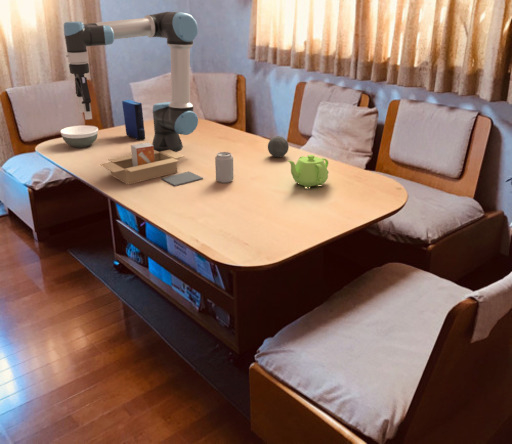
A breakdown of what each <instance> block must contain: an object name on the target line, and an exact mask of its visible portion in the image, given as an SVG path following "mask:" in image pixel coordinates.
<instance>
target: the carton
mask: <svg viewBox="0 0 512 444" xmlns="http://www.w3.org/2000/svg"><path fill="white" fill-rule="evenodd" d="M185 157H186V156H185V155H183V154H181V153H178V152H177V151H175V152H174V151H172V150H166V151H161V152H158V151H156V150H154V159H155V162H153V163H148V164H143V165H139V166H134V167H133V163H132V154H129V155H124V156H118V157H115V158H109V159H108V161H109V162H104V163H100V164H99V165H100V166H102V167H103V168H105V169H107V171H110V174H111V175H110V176H112V177H113V178H116V179H117V180H119V181H121V182H123V183H124V184H125V185H132V184H136V183H139V182H144V181H148V180H152V179H156V178H162V177H166V176H170V175H174V174H178V163H179V159H180V158H181V159H182V158H185Z"/></svg>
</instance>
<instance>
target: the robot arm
mask: <svg viewBox="0 0 512 444" xmlns="http://www.w3.org/2000/svg"><path fill="white" fill-rule="evenodd" d="M198 32H199V27H198V23H197V20H196V19H195V18H194V17H193V16H192V15H191V14H190V13H185V12H183V11H181V12H179V11H164V12H159V13H154V14H146V15H145V16H144V17H142V18H141V17H140V18H139V17H138V18H132V19H131V18H130V19H120V20H111V21H101V22H100V21H99V22H91V23H83V22H82V21H65V22H64V24H63V36H64V40H65V46H66V51H67V52H66V55H65V56H66V58H67V61H68V63H69V64H68V67H69V68H68V69H69V73H70V74H71V75H73V76H74V83H75V95H76V99H77V105H78V113H81V114H82V113H84V119H85V121H86V120H93V113H92V105H91V103H92V100H91V96H90V90H89V89H90V88H89V85H88V78H87V77H85V74H89V73H90V66H89V63H88V62H89V57H88V56H89V55H88V50H87V47H94V46H95V47H97V46H107V45H112V44H113V43H114V41H115V40H121V39H130V38H137V37H148V38H164V39H166V44H167V46H168V47H169V48H170V81H171V82H170V84H171V85H170V86H171V101H165V102H164V101H163V102H158V103H154V104H153V105H152V117H153V128H154V130H153V131H154V135H153V140H152V143H151V145H153V146H154V150H156V151H158V152H161V151H166V150H172V151H174V152H178V151H181V150H182V149H183V142H182V140H181V137H180V135H183V136H188V135H190V134H192V133H193V132H194V131H195V130H196V129H197V127H198V125H199V118H198V115H197V114H196V112H194V104H193V103H192V102H191V73H190V72H191V60H190V59H191V58H190V57H191V55H190V54H191V52H190V51H191V47H193V45H194V41H195V39H196V37H197V35H198Z"/></svg>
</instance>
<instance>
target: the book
mask: <svg viewBox="0 0 512 444" xmlns="http://www.w3.org/2000/svg"><path fill="white" fill-rule="evenodd" d="M121 103H122V110H123V117H124V126H125V135H126V136H128V137H130V138H133V139H135V140H137V141H144V140H145V139H146V130H145V124H144V114H143V112H144V111H143V106H142V105H143V104H142V102H137V101H135V100H132V99H131V100H130V99H126V100H123V101H121Z"/></svg>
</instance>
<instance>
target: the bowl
mask: <svg viewBox="0 0 512 444" xmlns="http://www.w3.org/2000/svg"><path fill="white" fill-rule="evenodd" d="M98 131H99V128H98V126H95V125H71V126H68V127H65V128H62V129H60V131H59V132H60V135H61V137H62V140H63V141H64V142H65V143H66V144H67V145H69V146H71V147H73V148H77V149H78V148H79V149H81V148H87V147H90V146H91V145H92V144H94V143H95V141H96V140H97V138H98Z"/></svg>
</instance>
